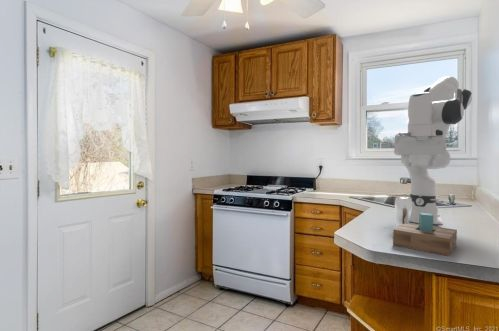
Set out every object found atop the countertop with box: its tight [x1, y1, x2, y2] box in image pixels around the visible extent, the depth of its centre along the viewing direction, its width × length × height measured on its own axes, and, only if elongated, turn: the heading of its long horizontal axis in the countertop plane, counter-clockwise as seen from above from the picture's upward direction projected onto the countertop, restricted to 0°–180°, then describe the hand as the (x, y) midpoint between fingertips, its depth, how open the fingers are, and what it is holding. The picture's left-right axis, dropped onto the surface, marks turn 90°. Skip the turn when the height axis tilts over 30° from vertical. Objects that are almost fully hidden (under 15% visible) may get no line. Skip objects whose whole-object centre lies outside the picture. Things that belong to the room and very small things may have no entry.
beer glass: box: [394, 196, 412, 229], centre depth 140 cm, size 7×7×15 cm
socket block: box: [392, 222, 458, 257], centre depth 116 cm, size 18×18×6 cm
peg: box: [418, 213, 434, 232], centre depth 116 cm, size 4×4×12 cm
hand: (419, 166), depth 125 cm, fingers open, 8 cm apart
